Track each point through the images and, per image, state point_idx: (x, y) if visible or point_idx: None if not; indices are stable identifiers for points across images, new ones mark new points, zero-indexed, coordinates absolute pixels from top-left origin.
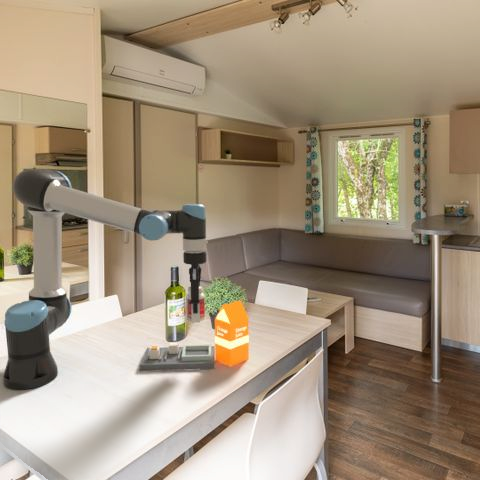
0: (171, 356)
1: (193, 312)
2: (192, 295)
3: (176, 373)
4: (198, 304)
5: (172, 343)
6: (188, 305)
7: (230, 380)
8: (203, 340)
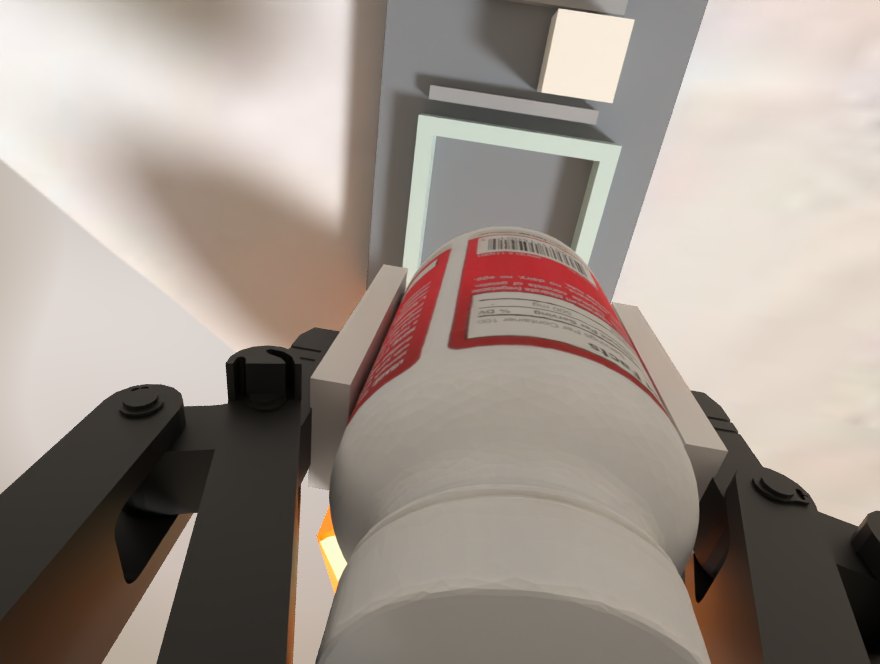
0: (512, 38)
1: (304, 336)
2: (15, 521)
3: (341, 70)
4: (313, 460)
5: (600, 46)
6: (419, 317)
7: (246, 334)
8: (800, 292)
